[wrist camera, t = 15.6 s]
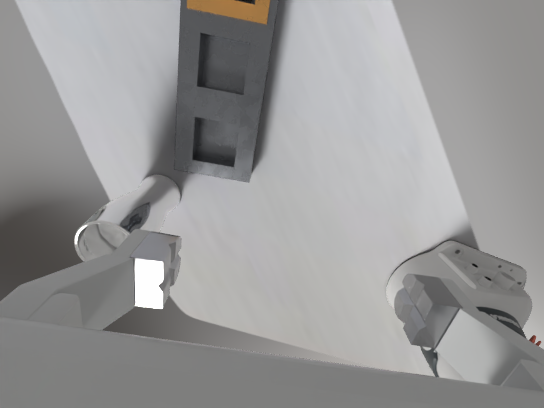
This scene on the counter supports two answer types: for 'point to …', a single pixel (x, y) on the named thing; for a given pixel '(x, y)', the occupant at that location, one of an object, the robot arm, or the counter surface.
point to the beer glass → (127, 217)
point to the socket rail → (221, 84)
